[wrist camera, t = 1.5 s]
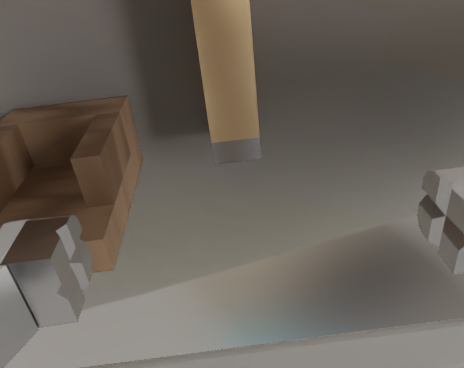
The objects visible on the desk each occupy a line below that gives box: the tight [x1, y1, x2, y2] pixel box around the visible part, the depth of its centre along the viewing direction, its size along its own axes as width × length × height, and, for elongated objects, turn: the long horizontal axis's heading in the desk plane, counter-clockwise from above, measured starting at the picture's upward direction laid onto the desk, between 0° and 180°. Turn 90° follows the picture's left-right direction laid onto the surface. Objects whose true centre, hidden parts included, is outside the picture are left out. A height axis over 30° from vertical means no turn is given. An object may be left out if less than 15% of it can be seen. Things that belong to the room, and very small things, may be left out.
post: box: [0, 96, 143, 273], centre depth 24 cm, size 8×5×12 cm, turn 96°
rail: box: [191, 0, 261, 164], centre depth 25 cm, size 3×13×5 cm, turn 6°
